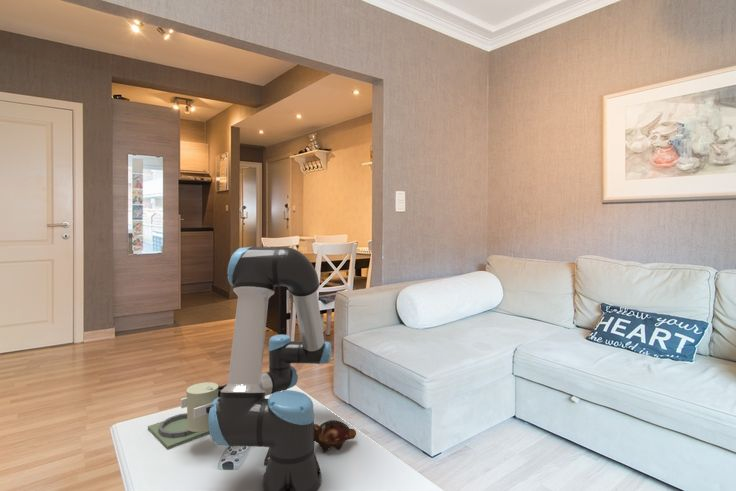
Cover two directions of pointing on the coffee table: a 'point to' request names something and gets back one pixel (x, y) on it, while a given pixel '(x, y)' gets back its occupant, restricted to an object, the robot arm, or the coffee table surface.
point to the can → (200, 404)
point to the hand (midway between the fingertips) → (187, 408)
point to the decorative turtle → (332, 434)
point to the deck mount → (174, 431)
